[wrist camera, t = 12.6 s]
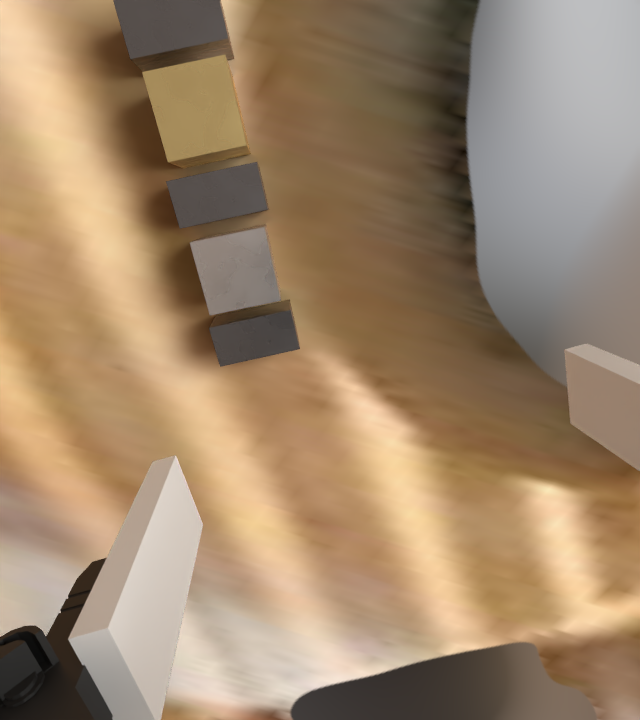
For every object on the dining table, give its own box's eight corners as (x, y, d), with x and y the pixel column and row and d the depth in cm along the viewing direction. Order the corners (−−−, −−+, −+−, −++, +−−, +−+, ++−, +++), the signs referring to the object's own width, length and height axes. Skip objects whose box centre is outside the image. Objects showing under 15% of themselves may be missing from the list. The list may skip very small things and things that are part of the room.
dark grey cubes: (225, 350, 38) (220, 366, 34) (133, 25, 31) (113, 0, 27) (297, 334, 38) (299, 348, 35) (222, 7, 31) (214, -21, 27)
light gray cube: (218, 301, 37) (209, 315, 32) (201, 237, 35) (189, 242, 31) (280, 288, 37) (280, 300, 32) (265, 224, 36) (264, 227, 31)
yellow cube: (161, 91, 32) (141, 72, 28) (232, 76, 32) (225, 54, 28) (183, 168, 34) (167, 162, 29) (250, 154, 34) (246, 145, 29)
